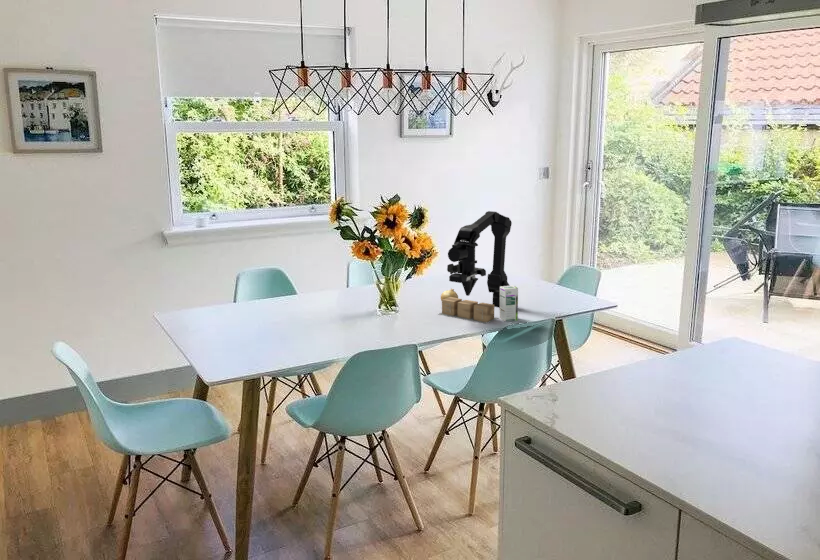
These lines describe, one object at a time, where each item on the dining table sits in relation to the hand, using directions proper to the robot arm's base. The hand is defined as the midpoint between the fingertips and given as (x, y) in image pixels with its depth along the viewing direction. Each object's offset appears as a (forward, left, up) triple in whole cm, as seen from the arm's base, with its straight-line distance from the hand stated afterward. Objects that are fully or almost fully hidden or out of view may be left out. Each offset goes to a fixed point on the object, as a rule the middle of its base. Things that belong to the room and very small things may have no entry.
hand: (467, 295), depth 284 cm
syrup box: (-7, +16, -10) cm, 20 cm away
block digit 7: (0, +8, -9) cm, 12 cm away
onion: (-15, -20, -10) cm, 27 cm away
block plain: (0, 0, -9) cm, 9 cm away
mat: (0, 0, -10) cm, 10 cm away
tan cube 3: (0, -8, -9) cm, 12 cm away
